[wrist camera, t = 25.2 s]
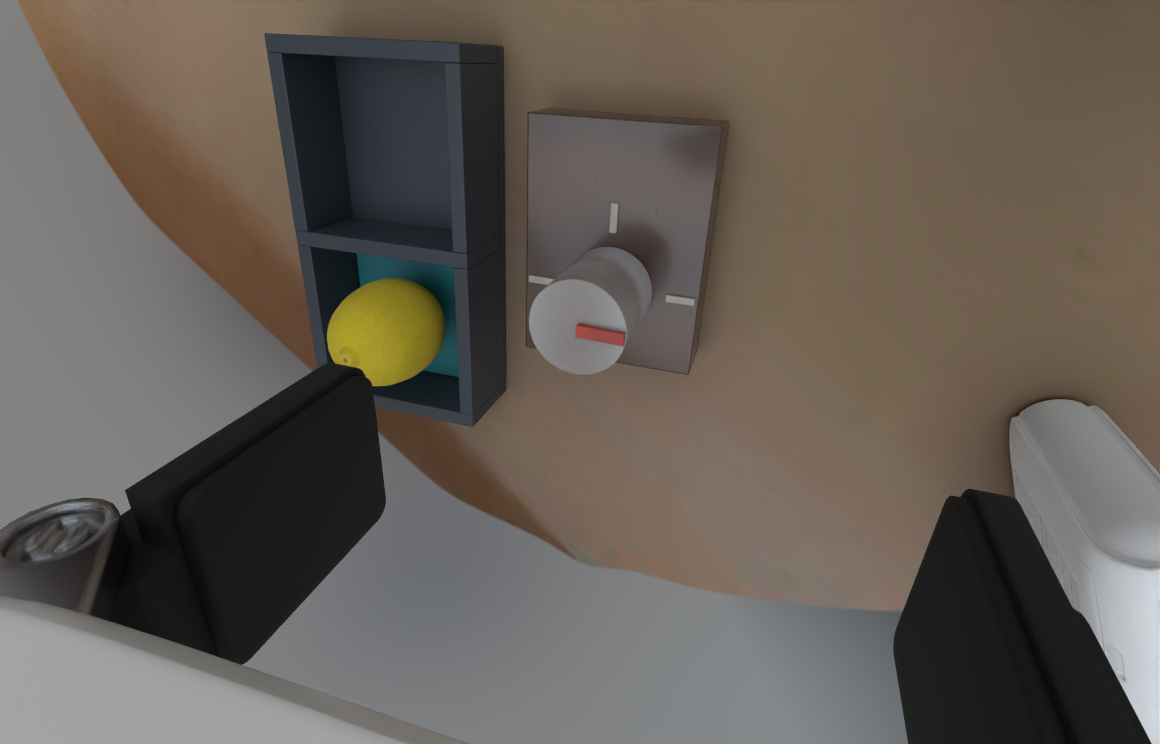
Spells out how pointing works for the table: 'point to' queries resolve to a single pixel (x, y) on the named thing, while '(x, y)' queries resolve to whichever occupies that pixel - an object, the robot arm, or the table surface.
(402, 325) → the lemon
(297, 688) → the robot arm
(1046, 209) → the table surface
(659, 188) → the tap panel
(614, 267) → the tap knob
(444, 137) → the compartment box
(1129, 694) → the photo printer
